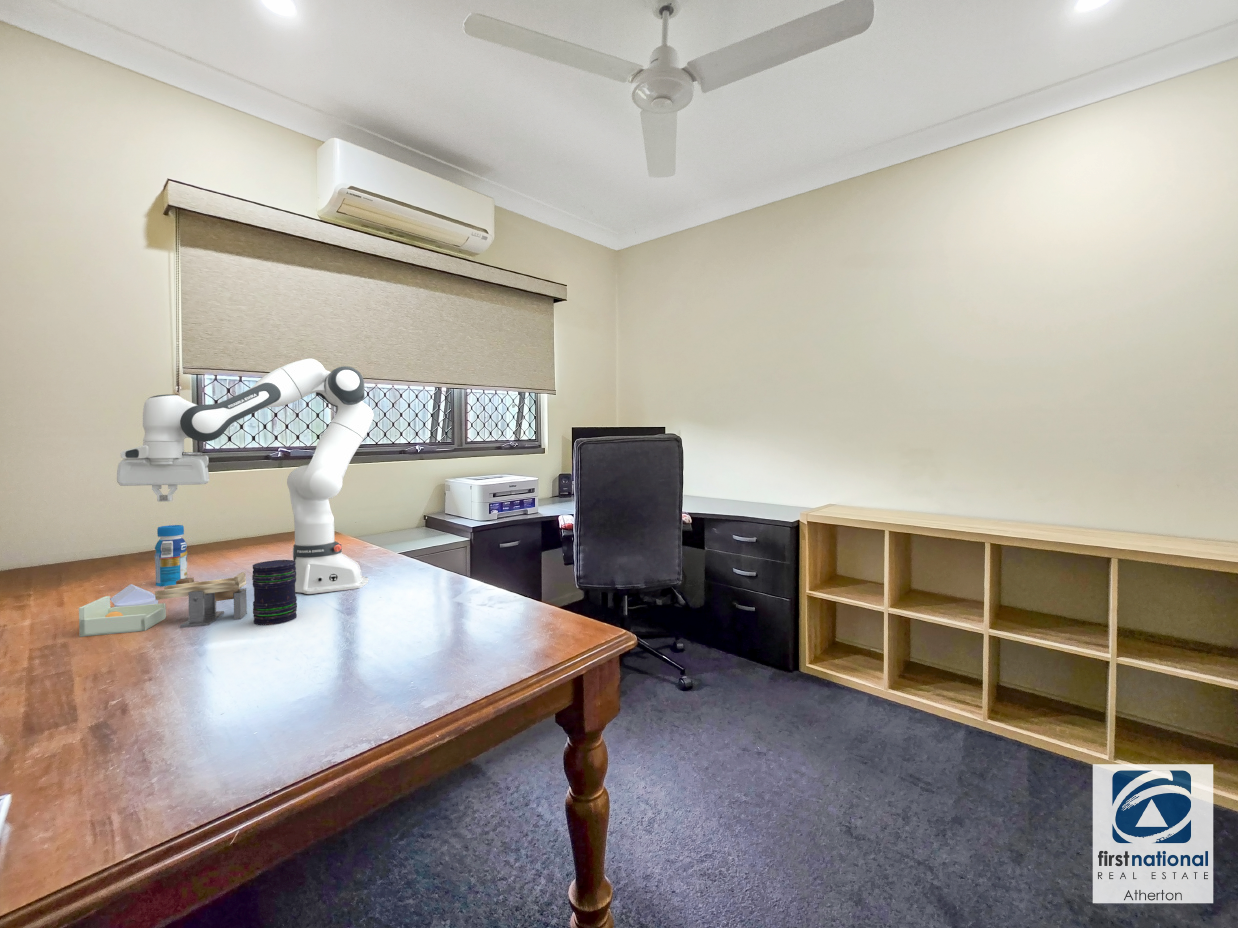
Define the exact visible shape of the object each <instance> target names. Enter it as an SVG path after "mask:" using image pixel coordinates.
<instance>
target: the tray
mask: <svg viewBox="0 0 1238 928" xmlns="http://www.w3.org/2000/svg"><path fill="white" fill-rule="evenodd" d="M110 598H111V595H107V596H106V595H105V596H103V597H100V598H98V599H96V600H94V601H91V602H89V603H86V604H85V605H83V606H82V605H81V606H80V607H78V621H79V623H78V624H79V627H78V629H79V630H78V632H79V638H81V637H92V636H102V635H103V636H104V635H111V634H112V635H114V634H116V635H117V634H125V633H137V632H145V631H148V630H149V629H150V628H152V627H154V626H155V625H157V624H158V623H160V622H162V621H163V620H165V619H166V618H167V614H166V612H167V611H166V609H167V607H166V602H163V603H158V604H148V605H135V606H123V607H114V606H112V607H111V600H110ZM115 611H116V612H120V613H122V614H123V616H115V617H105V616H106V615H107V614H108V613H110V612H115Z"/></svg>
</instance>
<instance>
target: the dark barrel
mask: <svg viewBox="0 0 1238 928" xmlns="http://www.w3.org/2000/svg"><path fill="white" fill-rule="evenodd" d="M295 565H296V561H294V560H293V559H274V560H268V561H261V562H257V563H254V564H252V576H251V578H252V588H253V599H254V600H253V602H252V607H253V608H252V614H253V624H254V625H255V626H274V625H279V624H285V623H289V622H291V621H293V620H296V619H297V617H298V616H297V611H298V610H297V608H298V602H297V600H298V598H297V596H296V592H295V583H296V566H295Z"/></svg>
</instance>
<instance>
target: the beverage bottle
mask: <svg viewBox="0 0 1238 928" xmlns="http://www.w3.org/2000/svg"><path fill="white" fill-rule="evenodd" d="M156 529H157V533H156V534H157V537H158V538H159V539H158V540H157V542H156V543H155V545H154V550H155V554H154V563H155V570H154V571H155V586H156V587H165V586H170V585H176V581H178V580H180V579H185V578H188V555H189V554H188V553H189V552H188V550H187V547H188V544H187V542H186V540H185V539H184V538H183V536H184V535H185V527H184V525H183V524H175V525H174V524H172V525H171V524H169V525H162V526H161V525H160V526H158V527H157V528H156Z"/></svg>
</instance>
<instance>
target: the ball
mask: <svg viewBox="0 0 1238 928" xmlns="http://www.w3.org/2000/svg"><path fill="white" fill-rule="evenodd" d="M115 616H123V614H122V613H120V612H116V611H115V612H110V613H108V614H107V615H106V616H105V617H115Z"/></svg>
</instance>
